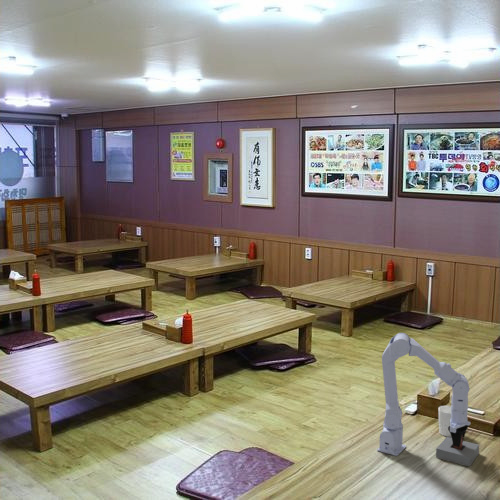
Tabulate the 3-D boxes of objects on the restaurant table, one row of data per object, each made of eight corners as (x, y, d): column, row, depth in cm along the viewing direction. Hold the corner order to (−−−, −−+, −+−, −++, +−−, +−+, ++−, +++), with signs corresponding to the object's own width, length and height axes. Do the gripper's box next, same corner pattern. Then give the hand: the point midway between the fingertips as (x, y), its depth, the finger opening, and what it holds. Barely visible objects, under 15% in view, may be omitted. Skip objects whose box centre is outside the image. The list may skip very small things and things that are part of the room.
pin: (460, 454, 221) (461, 433, 220) (452, 452, 223) (452, 431, 222) (463, 451, 223) (463, 430, 222) (455, 449, 225) (455, 428, 224)
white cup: (461, 432, 242) (462, 409, 241) (453, 439, 236) (453, 415, 235) (443, 427, 248) (443, 404, 246) (434, 433, 242) (434, 409, 241)
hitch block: (469, 466, 215) (469, 457, 214) (436, 457, 222) (436, 448, 221) (478, 453, 224) (479, 444, 224) (446, 445, 231) (446, 436, 231)
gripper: (464, 418, 213) (463, 454, 214) (476, 404, 224) (474, 439, 226) (444, 413, 217) (443, 449, 218) (457, 400, 228) (455, 435, 230)
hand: (458, 444), depth 223 cm, fingers closed on pin, 3 cm apart
